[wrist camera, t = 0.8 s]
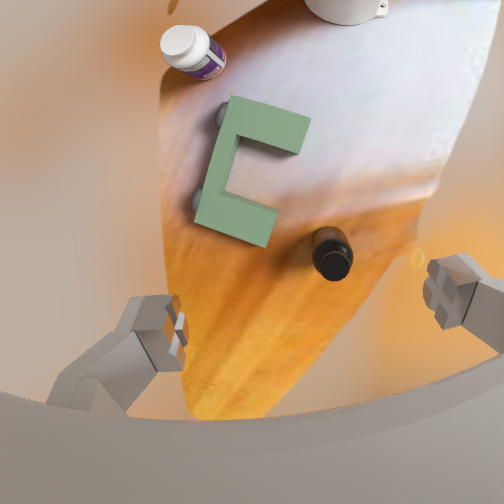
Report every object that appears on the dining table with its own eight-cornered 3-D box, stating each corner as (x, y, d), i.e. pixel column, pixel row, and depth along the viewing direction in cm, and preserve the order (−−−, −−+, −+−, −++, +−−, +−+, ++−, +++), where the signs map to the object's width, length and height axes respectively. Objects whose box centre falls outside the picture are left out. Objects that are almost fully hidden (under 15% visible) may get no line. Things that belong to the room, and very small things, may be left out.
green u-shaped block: (231, 97, 49) (223, 92, 44) (310, 120, 47) (310, 117, 43) (196, 215, 57) (186, 221, 53) (268, 241, 56) (264, 250, 52)
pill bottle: (197, 41, 45) (164, 15, 32) (234, 49, 45) (209, 20, 32) (182, 76, 48) (144, 58, 35) (218, 85, 48) (188, 66, 35)
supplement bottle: (308, 255, 56) (306, 281, 45) (316, 221, 53) (318, 240, 42) (342, 263, 55) (348, 291, 44) (352, 230, 53) (362, 251, 41)
